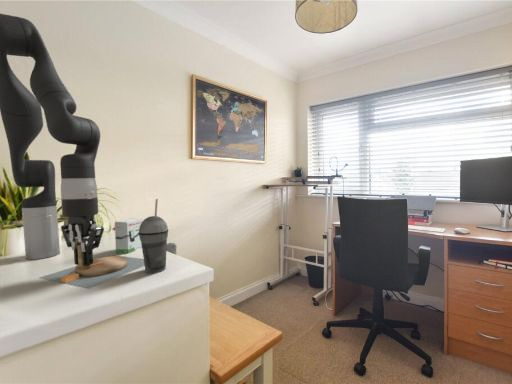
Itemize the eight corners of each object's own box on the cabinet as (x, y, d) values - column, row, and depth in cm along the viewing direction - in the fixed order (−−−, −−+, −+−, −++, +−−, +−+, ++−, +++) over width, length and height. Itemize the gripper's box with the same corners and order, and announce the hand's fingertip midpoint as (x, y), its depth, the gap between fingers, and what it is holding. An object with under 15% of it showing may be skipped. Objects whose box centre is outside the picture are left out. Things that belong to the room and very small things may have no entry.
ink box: (128, 258, 83) (126, 221, 83) (115, 257, 84) (113, 222, 84) (145, 250, 92) (143, 217, 91) (133, 250, 93) (131, 217, 92)
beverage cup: (146, 271, 70) (142, 198, 69) (173, 269, 71) (170, 197, 70) (136, 281, 63) (131, 200, 62) (166, 280, 64) (162, 199, 63)
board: (39, 283, 64) (38, 273, 64) (112, 259, 82) (112, 251, 82) (88, 295, 56) (88, 283, 56) (157, 265, 75) (157, 257, 74)
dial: (110, 259, 77) (109, 234, 77) (136, 264, 72) (135, 238, 71) (66, 272, 67) (63, 244, 66) (92, 280, 61) (90, 249, 61)
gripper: (46, 197, 64) (51, 266, 64) (82, 198, 58) (87, 273, 59) (77, 195, 70) (81, 257, 71) (112, 195, 65) (116, 263, 66)
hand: (84, 264), depth 65 cm, fingers closed on dial, 2 cm apart
